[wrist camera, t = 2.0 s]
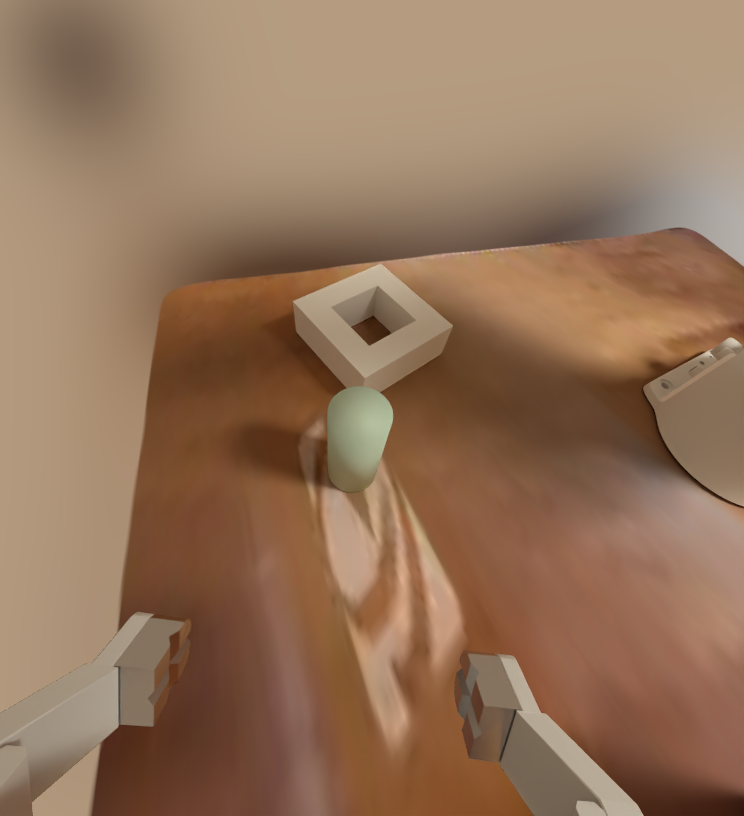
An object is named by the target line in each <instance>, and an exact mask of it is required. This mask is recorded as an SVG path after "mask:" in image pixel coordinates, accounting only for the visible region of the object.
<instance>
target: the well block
mask: <svg viewBox="0 0 744 816" xmlns="http://www.w3.org/2000/svg"><path fill="white" fill-rule="evenodd" d="M293 308H294V317H295V326H296V332H297V334H298V335H299V336H300V337H301V338H302V339H303V340H304V341H305V342H306V344H307V345H308V346H309V347H310V348H311V349H312V350H313V351H314V353H315V354H316V355H317V356H318V357H319V358H320V359H321V360H322V361H323V363H324V364H325V365H326V366H327V367H328V368H329V369H330V370H331V372H332V373H333V374H334V375H335V376H336V377H337V378H338V379H339V380H340V382H341V383H342V384H343V385H344V386H345V387H346V388H350V387H356V386H361V387H368V388H371V389H374V390H376V391H378V392H379V393H380V392H381V391H383V390H385V389H386V388H388V387H389V386H391V385H393V384H394V383H396V382H397V381H399V380H401V379H402V378H404V377H405V376H407V375H409V374H410V373H412V372H413V371H415V370H416V369H418V368H420V367H421V366H423V365H424V364H426V363H428V362H429V361H431V360H432V359H434V358H436V357H437V356H439V355H440V354H442V351H443V349H444V347H445V344H446V342H447V340H448V337H449V335H450V333H451V330H452V328H453V325H452V324H451V323H449V322H448V321H447V320H446V319H445V318H444V317H442V316H441V315H440V314H439V313H438V312H437V311H435V310H434V309H433V308H432V307H431V306H430V305H428V304H427V303H426V302H425V301H424V300H423V299H421V298H420V297H419V296H418V295H417V294H416V293H414V292H413V291H412V290H411V289H410V288H409V287H407V286H406V285H405V284H404V283H403V282H402V281H400V280H399V279H398V278H397V277H396V276H395V275H393V274H392V273H391V272H390V271H389V270H388V269H386V268H385V267H384V266H383V265H382V264H379V265H376V266H374V267H372V268H369V269H367V270H365V271H362V272H360V273H358V274H355V275H353V276H350V277H348V278H346V279H343V280H341V281H339V282H336V283H334V284H332V285H329V286H327V287H325V288H322V289H320V290H318V291H315V292H313V293H311V294H308V295H306V296H304V297H301V298H299V299H297V300H294V301H293ZM372 316H374V317H375V318H376V319H377V320H378V321H379V322H380V323H381V324H382V325H383V326H384V327H386V328H387V329H388V330H389V331H390V332H391V333H392V334H390V335H388V336H386V337H385V338H383V339H381V340H379V341H377V342H375V343H374V344H372V345H370V346H369V345H368V344H367V343H366V342H365V341H364V340H363V339H362V338H361V337H360V336H359V335H358V334H357V333H356V332H355V331H354V330H353V329H352V328H351V327H352V326H354V325H356V324H358V323H360V322H362V321H364V320H366V319H368V318H370V317H372Z"/></svg>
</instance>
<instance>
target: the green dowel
mask: <svg viewBox="0 0 744 816" xmlns="http://www.w3.org/2000/svg"><path fill="white" fill-rule="evenodd" d="M392 422H393V410H392V407H391V405H390V403H389V401H388V400H387V399H386V398H385V397H384V396H383V395H382V394H381V393H379V392H378V391H376V390H374V389H371V388H368V387H361V386H356V387H350V388H346V389H344V390H342V391H340V392H339V393H337V394H336V395H335V396H334V397H333V398H332V400H331V401H330V403H329V406H328V411H327V447H328V476H329V478H330V481H331V482H332V483H333V485H334V486H335V487H337V488H338V489H340V490H342V491H344V492H349V493H355V492H360V491H362V490H364V489H366V488H367V487H368V486H369V485H370V484H371V483H372V482H373V480H374V477H375V474H376V471H377V468H378V465H379V462H380V459H381V456H382V453H383V450H384V447H385V444H386V440H387V437H388V434H389V431H390V428H391V425H392Z"/></svg>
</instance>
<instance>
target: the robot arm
mask: <svg viewBox="0 0 744 816" xmlns="http://www.w3.org/2000/svg"><path fill="white" fill-rule="evenodd" d="M741 345H742V344H739V342H738V341H736V340H735V339H733V338H731V337H730V338H729V339H727V340H725V341H724V342H722V343H721V344H719V345H718V346H717V347H715V348H713V349H711V350H709V351H707V352H705V353H703V354H701V355H699V356H698V357H696V358H694V359H692V360H690V361H688V362H686V363H685V364H683V365H681V366H679V367H677V368H675V369H673V370H671V371H670V372H668V373H666V374H664V375H662V376H660V377H658V378H657V379H655V380H653V381H651V382H649V383H648V384H646V385H645V386H644V387H643V390H644V393H645V395H646V397H647V399H648V400H649V402H650V403H651V405H652V406H653V408H654V410H655V413H656V418H657V423H658V427H659V430H660V433H661V435H662V438H663V440H664V442H665V443H666V445H667V447H668V448H669V450H670V451H671V453H672V454H673V456H674V457H675V458H676V459H677V461H678V462H679V463H680V464H681V465H682V466H683V467H684V468H685V469H686V470H687V471H688V472H689V473H690V474H691V475H692V476H693V477H694V478H695V479H696V480H698V481H699V482H700V483H701V484H703V485H704V486H705V487H707V488H708V489H710V490H711V491H713V492H714V493H716V494H718V495H719V496H721V497H723V498H725V499H727V500H729V501H731V502H733V503H736V504H738V505H741V506H744V346H741ZM190 630H191V620H190V619H186V618H179V617H173V616H166V615H159V614H150V613H143V612H137V613H135V614H134V615H132V616H131V617H130V618H129V619H128V621H127V622H126V623H125V624H124V625H123V627H122V628H121V629H120V630H119V631H118V633H117V634H116V635H115V636H114V637H113V639H112V640H111V641H110V642H109V643H108V645H107V646H106V647H105V648H104V649H103V651H102V652H101V653H100V654H99V655H98V657H97V658H96V659H95V660H94V661H93V663H92V664H84V665H82V666H81V667H79V668H77V669H75V670H74V671H72V672H70V673H69V674H67V675H65V676H63V677H62V678H60V679H58V680H56V681H55V682H53V683H51V684H50V685H48V686H46V687H44V688H43V689H41V690H39V691H37V692H36V693H34V694H32V695H31V696H29V697H27V698H25V699H24V700H22V701H20V702H18V703H17V704H15V705H13V706H12V707H10V708H8V709H6V710H5V711H3V712H1V713H0V816H33V815H32V803H31V802H33V801H34V800H35V799H36V798H37V797H38V796H40V795H41V794H42V793H43V792H44V791H45V790H46V789H47V788H49V787H50V786H51V785H52V784H53V783H54V782H55V781H57V780H58V779H59V778H60V777H61V776H63V775H64V774H65V773H66V772H67V771H68V770H69V769H71V768H72V767H73V766H74V765H75V764H76V763H78V762H79V761H80V760H81V759H82V758H83V757H84V756H85V755H87V754H88V753H89V752H90V751H91V750H92V749H94V748H95V747H96V746H97V745H98V744H99V743H101V742H102V741H103V740H104V739H105V738H106V737H107V736H109V735H110V734H111V733H112V732H113V731H114V730H115V729H117V728H118V726H119V724H121V725H136V726H151V727H153V726H154V725H155V723H156V721H157V719H158V717H159V715H160V714H161V712H162V710H163V708H164V706H165V704H166V703H167V701H168V697H169V688H170V687H172V686H173V685H174V684H176V683H177V682H178V681H179V679H180V677H181V675H182V673H183V671H184V668H185V665H186V663H187V660H188V656H189V652H190V641H189V640H188V638H187V636H188V634H189V632H190ZM460 663H461V667H462V668H461V669H460V670H459V671H458V672H457V673H456V678H455V690H454V694H455V702H456V706H457V711H458V713H459V714H460V716H461V717H462V718H463V719H464V725H463V728H462V732H463V736H464V740H465V744H466V748H467V752H468V756H469V759H475V760H482V761H490V762H497V763H500V766H501V767H502V769H503V770H504V772H505V773H506V775H507V776H508V778H509V779H510V781H511V782H512V784H513V785H514V787H515V788H516V790H517V791H518V793H519V794H520V796H521V797H522V798H523V800H524V801H525V803H526V804H527V806H528V807H529V809H530V810H531V812H532V813H533V815H534V816H644V815H643V814H642V812H641V810H640V808H639V807H638V805H637V804H636V803H635V802H634V801H633V800H632V799H631V798H630V797H629V796H628V795H627V794H626V793H625V792H624V791H623V790H622V789H621V788H620V787H619V786H618V785H617V784H616V783H615V782H614V781H613V780H612V779H611V778H610V777H609V776H608V775H607V774H606V773H605V772H604V771H603V770H602V769H601V768H600V767H599V766H598V765H597V764H596V763H595V762H594V761H593V760H592V759H591V758H590V757H589V756H588V755H587V754H586V753H585V752H584V751H583V750H582V749H581V748H580V747H579V746H578V745H577V744H576V743H575V742H574V741H573V740H572V739H571V738H570V737H569V736H568V735H567V734H566V733H565V732H564V731H563V730H562V729H561V728H560V727H559V726H558V725H557V724H556V723H555V722H554V721H553V720H552V719H551V718H550V717H549V716H548V715H547V714H544V713H541V712H540V710H539V708H538V706H537V704H536V701H535V699H534V697H533V695H532V693H531V691H530V688H529V686H528V684H527V682H526V680H525V678H524V675H523V673H522V671H521V669H520V667H519V665H518V663H517V660H516V659H515V658H514V656H512V655H502V654H494V653H484V652H475V651H465V650H464V651H463V652H462V654H461V658H460Z"/></svg>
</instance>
